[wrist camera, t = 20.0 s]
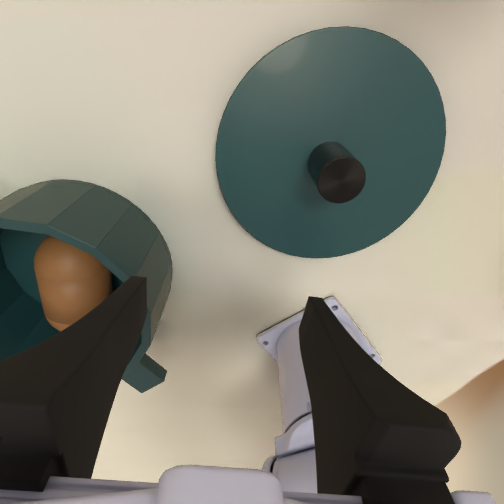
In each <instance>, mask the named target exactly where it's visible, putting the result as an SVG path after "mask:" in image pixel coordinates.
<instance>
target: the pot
mask: <svg viewBox="0 0 504 504" xmlns="http://www.w3.org/2000/svg"><path fill="white" fill-rule="evenodd" d="M49 235H50V236H52V237H54V238H56V239H58V240H61V241H63V242H65V243H67V244H69V245H71V246H74V247H76V248H78V249H80V250H82V251H85V252H87V253H89V254H91V255H93V256H94V257H95V258H96V259H97V260H98V261H99V262H101V263H102V264H103V265H104V266H105V267H106V268H107V269H109V270H110V271H111V274H112V288H113V292H114V291H115V290H117V289H118V288H119V287H120V286H121V285H122V284H123V283H124V282H125V281H126V280H127V279H129V278H130V277H131V276H140V277H147V315H146V319H145V322H144V326H143V329H142V332H141V335H140V337H139V340H138V342H137V344H136V347H135V349H134V351H133V353H132V356H131V358H130V360H129V363H128V365H127V367H126V369H125V372H124V374H123V376H122V380H124V381H125V382H127V383H128V384H129V385H131V386H132V387H134V388H135V389H136V390H138V391H139V392H141V393H143V392H145V391H147V390H149V389H151V388H152V387H154V386H156V385H158V384H160V383H162V382H164V380H165V376H166V373H167V370H165V369H164V368H163V367H162V366H160V365H159V364H158V363H157V362H155V361H154V360H153V359H151V358H150V357H149V356H148V355H146V354H145V353H146V351H147V350H148V348H149V347H150V345H151V342H152V339H153V337H154V334H155V331H156V328H157V325H158V323H159V320H160V317H161V314H162V311H163V309H164V306H165V303H166V300H167V297H168V294H169V292H170V288H171V279H172V261H171V256H170V253H169V250H168V247H167V244H166V242H165V240H164V238H163V236H162V234H161V233H160V231H159V230H158V228H157V227H156V225H155V224H154V223H153V222H152V221H151V220H150V218H149V217H148V216H147V215H146V214H145V213H144V212H142V211H141V210H140V209H139V208H138V207H137V206H135V205H134V204H133V203H131V202H130V201H129V200H127V199H125V198H124V197H122V196H120V195H119V194H117V193H115V192H113V191H110V190H108V189H106V188H104V187H101V186H97V185H94V184H91V183H86V182H82V181H75V180H50V181H45V182H40V183H37V184H34V185H31V186H29V187H26V188H22V189H19V190H17V191H15V192H14V193H12V194H10V195H8V196H7V197H5V198H3V199H1V200H0V361H2V360H4V359H7V358H9V357H11V356H14V355H16V354H18V353H20V352H23V351H25V350H27V349H29V348H31V347H33V346H35V345H37V344H39V343H41V342H43V341H44V340H46V339H48V338H50V337H52V336H54V335H55V334H57V333H59V332H61V331H59V330H57V329H56V328H54V327H53V326H52V325H51V324H50V323H49V322H48V321H47V319H46V317H45V314H44V311H43V307H42V302H41V298H40V293H39V288H38V284H37V279H36V274H35V270H34V256H35V252H36V250H37V248H38V246H39V245H40V243H41V242H42V241H43V240H44V239H45V238H46V237H47V236H49Z"/></svg>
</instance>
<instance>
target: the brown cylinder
mask: <svg viewBox="0 0 504 504" xmlns="http://www.w3.org/2000/svg"><path fill="white" fill-rule="evenodd" d="M34 270H35V274H36V279H37V284H38V288H39V293H40V298H41V302H42V307H43V311H44V314H45V317H46V319H47V321H48V322H49V323H50V324H51V325H52V326H53V327H54V328H56V329H57V330H59V331H62V330H64V329H66V328H67V327H69V326H70V325H72V324H73V323H75V322H76V321H78V320H79V319H81V318H82V317H83V316H85V315H86V314H87V313H89V312H90V311H91V310H93V309H94V308H95V307H97V306H98V305H99V304H100V303H101V302H103V301H104V300H105V299H106V298H107V297H109V296H110V295H111V294H112V293H113V288H112V274H111V271H110V270H109V269H107V268H106V267H105V266H104V265H103V264H102V263H101V262H99V261H98V260H97V259H96V258H95V257H94V256H93V255H91V254H89V253H87V252H85V251H82V250H80V249H78V248H76V247H74V246H71V245H69V244H67V243H65V242H63V241H61V240H58V239H56V238H54V237H52V236H50V235H49V236H47V237H46V238H45V239H44V240H43V241H42V242H41V243H40V245H39V246H38V248H37V250H36V252H35V256H34Z"/></svg>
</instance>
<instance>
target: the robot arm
mask: <svg viewBox="0 0 504 504" xmlns="http://www.w3.org/2000/svg"><path fill="white" fill-rule="evenodd" d="M335 305H336V307H332V306H335ZM146 315H147V277H140V276H131V277H130V278H129V279H127V280H126V281H125V282H124V283H123V284H122V285H121V286H120V287H119V288H118V289H117V290H115V291H114V292H113V293H112V294H111V295H110V296H109V297H107V298H106V299H105V300H104V301H103V302H101V303H100V304H99V305H98V306H97V307H95V308H94V309H93V310H91V311H90V312H89V313H87V314H86V315H85V316H83V317H82V318H81V319H79V320H78V321H76V322H75V323H73V324H72V325H70V326H69V327H67V328H66V329H64V330H62V331H61V332H59V333H57V334H55V335H54V336H52V337H50V338H48V339H46V340H44V341H43V342H41V343H39V344H37V345H35V346H33V347H31V348H29V349H27V350H25V351H23V352H20V353H18V354H16V355H14V356H11V357H9V358H7V359H4V360H2V361H0V504H496V503H495V501H494V499H493V497H492V495H491V494H490V493H488V492H477V491H454V492H452V493H450V492H449V490H448V487H447V486H446V483H447V482H448V481H449V478H448V475H447V473H446V471H445V469H444V468H445V467H446V466H447V465H448V463H449V462H450V461H451V460H452V459H453V458H454V457H455V456H456V455H457V453H458V451H459V450H460V448H461V440H460V437H459V435H458V434H457V432H456V430H455V428H454V426H453V424H452V422H451V421H450V419H449V417H448V416H447V414H446V413H444V412H443V411H441V410H439V409H438V408H437V407H435V406H433V405H432V404H430V403H429V402H427V401H425V400H424V399H422V398H421V397H419V396H418V395H417V394H415V393H414V392H412V391H411V390H410V389H408V388H407V387H405V386H404V385H403V384H402V383H400V382H399V381H398V380H396V379H395V378H394V377H393V376H392V375H390V374H389V373H388V372H387V371H386V370H384V369H383V368H382V367H381V366H380V365H379V364H381V362H382V359H381V357H380V355H379V354H378V353H377V352H376V350H375V349H374V348H373V346H372V345H371V344H370V342H369V341H368V340H367V338H366V337H365V336H364V334H363V333H362V332H361V330H360V329H359V328H358V327H357V325H356V324H355V323H354V321H353V320H352V319H351V317H350V316H349V315H348V313H347V312H346V311H345V309H344V308H343V307H342V305H341V304H340V303H339V302H338V300H337V299H336V298H335V297H328V298H326V299H324V300H323V299H322V298H318V297H310V296H309V298H308V301H307V304H306V307H305V310H304V311H302V312H300V313H298V314H296V315H294V316H292V317H290V318H289V319H287V320H285V321H283V322H281V323H279V324H277V325H275V326H273V327H272V328H270V329H268V330H266V331H264V332H262V333H260V334H259V335H257V342H258V343H259V344H260V345H261V346H262V347H263V348H264V349H265V350H266V351H267V352H268V353H269V354H270V355H271V356H272V357H273V358H274V359H275V360H276V361H277V362H278V371H279V383H280V396H281V408H282V421H283V433H284V434H283V435H281V436H279V437H276V438H275V449H276V455H275V456H271V457H269V458H268V459H267V460H266V461H265V463H264V465H263V468H262V470H258V469H244V468H230V467H216V466H201V465H180V466H175V467H173V468H170V469H168V470H166V471H165V472H163V474H162V476H161V477H160V479H159V483H148V482H132V481H117V480H101V479H91V477H92V473H93V469H94V465H95V462H96V458H97V455H98V451H99V448H100V444H101V441H102V437H103V434H104V430H105V427H106V424H107V421H108V417H109V414H110V411H111V408H112V405H113V401H114V398H115V395H116V392H117V389H118V386H119V384H120V381H121V379H122V376H123V374H124V372H125V369H126V367H127V365H128V363H129V360H130V358H131V356H132V353H133V351H134V349H135V347H136V344H137V342H138V340H139V337H140V335H141V332H142V329H143V326H144V322H145V319H146ZM265 341H266V342H265Z"/></svg>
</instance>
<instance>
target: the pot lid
mask: <svg viewBox="0 0 504 504" xmlns="http://www.w3.org/2000/svg"><path fill="white" fill-rule="evenodd" d="M445 137H446V119H445V113H444V106H443V102H442V99H441V96H440V92H439V89H438V87H437V85H436V83H435V81H434V79H433V77H432V75H431V73H430V72H429V70H428V69H427V68H426V66H425V65H424V63H423V62H422V61H421V60H420V59H419V58H418V57H417V56H416V55H415V54H414V53H413V52H412V51H411V50H410V49H409V48H407V47H406V46H404V45H403V44H401V43H400V42H399V41H397V40H395V39H393V38H391V37H389V36H387V35H385V34H383V33H380V32H376V31H372V30H369V29H365V28H357V27H348V26H347V27H329V28H324V29H319V30H314V31H311V32H308V33H305V34H302V35H300V36H297V37H294V38H292V39H290V40H289V41H287V42H285V43H283V44H281V45H279V46H277V47H276V48H275V49H273V50H272V51H271V52H269V53H268V54H266V55H265V56H264V57H263V58H262V59H260V60H259V61H258V62H257V63H256V64H255V65H254V66H253V67H252V68H251V69H250V70H249V72H248V73H247V74H246V75H245V76H244V78H243V79H242V80H241V81H240V83H239V84H238V86H237V88H236V89H235V91H234V93H233V94H232V96H231V97H230V100H229V102H228V104H227V106H226V109H225V111H224V113H223V116H222V120H221V123H220V126H219V130H218V136H217V142H216V169H217V176H218V180H219V185H220V189H221V191H222V194H223V197H224V199H225V201H226V203H227V205H228V207H229V209H230V211H231V212H232V214H233V215H234V217H235V218H236V219H237V221H238V222H239V223H240V224H241V225H242V226H243V227H244V229H245V230H246V231H247V232H248V233H250V234H251V235H252V236H253V237H255V238H256V239H257V240H259V241H260V242H262V243H263V244H265V245H267V246H269V247H271V248H273V249H275V250H277V251H280V252H283V253H286V254H289V255H293V256H298V257H305V258H330V257H337V256H342V255H346V254H350V253H354V252H356V251H359V250H362V249H364V248H367V247H369V246H371V245H373V244H375V243H377V242H378V241H380V240H382V239H383V238H385V237H386V236H388V235H389V234H391V233H392V232H393V231H395V230H396V229H397V228H398V227H400V226H401V225H402V224H403V223H404V222H405V221H406V220H407V219H408V218H409V217H410V216H411V215H412V214H413V212H414V211H415V210H416V209H417V208H418V207H419V205H420V204H421V202H422V201H423V199H424V198H425V196H426V195H427V193H428V192H429V190H430V188H431V186H432V184H433V182H434V180H435V178H436V175H437V172H438V170H439V167H440V164H441V160H442V156H443V152H444V146H445Z"/></svg>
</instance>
